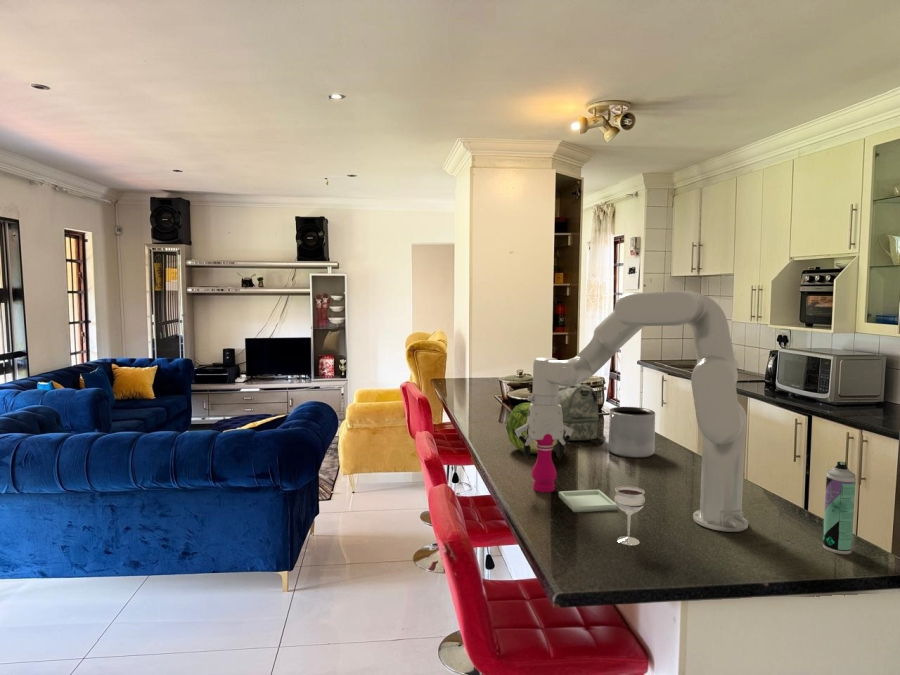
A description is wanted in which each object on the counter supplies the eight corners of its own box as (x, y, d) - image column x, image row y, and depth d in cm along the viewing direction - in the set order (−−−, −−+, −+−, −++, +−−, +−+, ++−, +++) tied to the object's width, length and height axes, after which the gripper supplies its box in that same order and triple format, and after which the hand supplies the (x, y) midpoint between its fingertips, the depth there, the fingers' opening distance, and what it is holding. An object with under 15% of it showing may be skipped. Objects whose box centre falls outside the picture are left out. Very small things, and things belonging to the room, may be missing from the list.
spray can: (840, 543, 136) (845, 458, 135) (857, 554, 131) (862, 465, 129) (817, 544, 136) (821, 459, 135) (833, 554, 131) (838, 466, 129)
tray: (616, 509, 157) (617, 504, 157) (574, 512, 155) (574, 506, 155) (598, 494, 169) (598, 489, 168) (558, 496, 167) (558, 491, 167)
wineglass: (609, 535, 140) (610, 485, 139) (636, 534, 141) (638, 485, 140) (619, 547, 134) (620, 495, 133) (648, 546, 134) (650, 495, 133)
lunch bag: (605, 440, 232) (606, 385, 231) (565, 444, 226) (566, 387, 224) (569, 426, 257) (570, 376, 255) (532, 429, 250) (533, 378, 249)
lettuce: (519, 464, 200) (530, 414, 197) (496, 438, 222) (506, 393, 219) (569, 468, 206) (581, 419, 203) (543, 442, 228) (552, 398, 225)
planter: (616, 459, 205) (617, 415, 204) (602, 447, 221) (603, 406, 220) (661, 459, 206) (662, 415, 205) (644, 447, 222) (646, 406, 221)
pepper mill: (556, 494, 169) (557, 425, 168) (530, 492, 170) (531, 424, 169) (556, 486, 176) (557, 420, 175) (532, 484, 178) (533, 418, 176)
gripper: (520, 402, 166) (518, 462, 168) (578, 402, 169) (576, 460, 170) (513, 397, 174) (511, 454, 175) (569, 397, 176) (567, 453, 178)
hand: (543, 457), depth 173 cm, fingers open, 9 cm apart
